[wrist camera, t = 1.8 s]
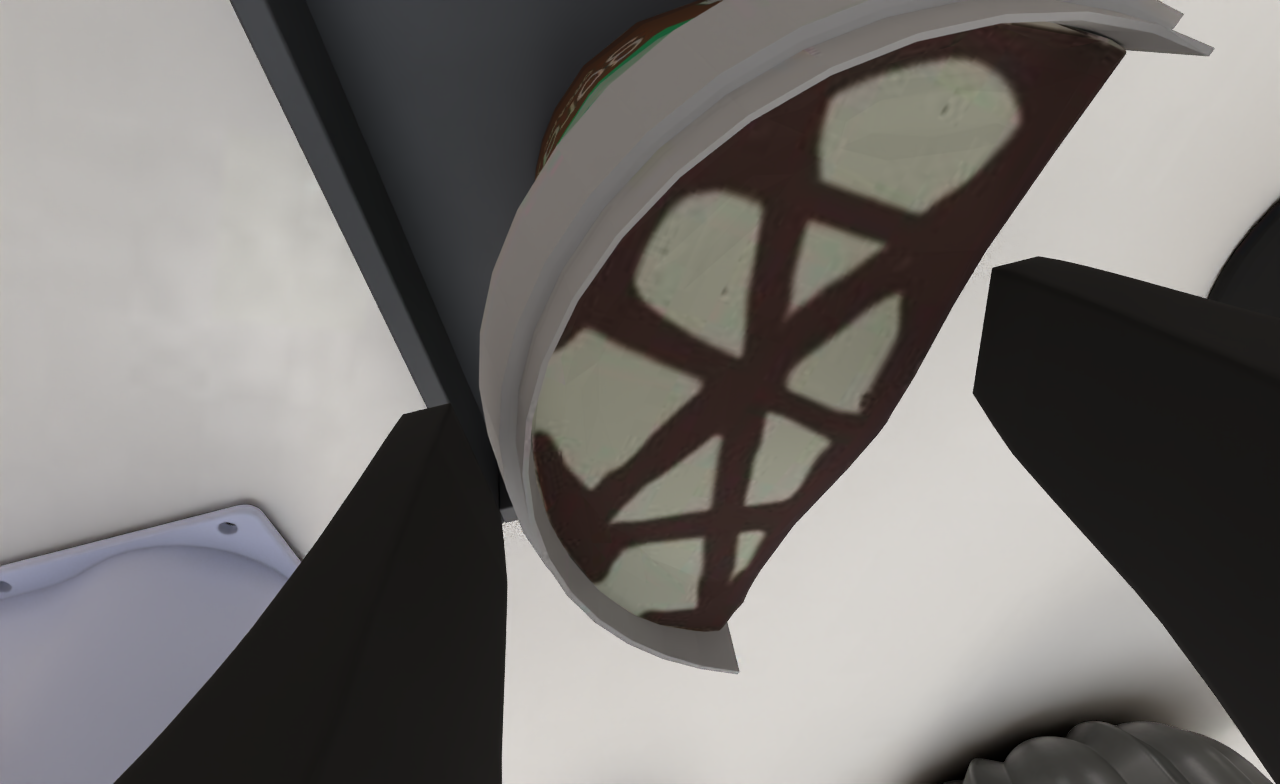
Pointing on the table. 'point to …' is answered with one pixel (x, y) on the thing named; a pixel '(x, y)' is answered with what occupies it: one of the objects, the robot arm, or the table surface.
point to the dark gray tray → (430, 150)
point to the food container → (756, 271)
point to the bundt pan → (1118, 758)
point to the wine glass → (1254, 270)
